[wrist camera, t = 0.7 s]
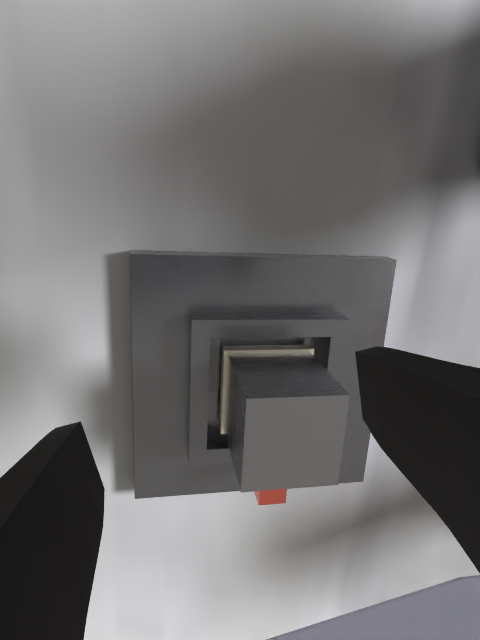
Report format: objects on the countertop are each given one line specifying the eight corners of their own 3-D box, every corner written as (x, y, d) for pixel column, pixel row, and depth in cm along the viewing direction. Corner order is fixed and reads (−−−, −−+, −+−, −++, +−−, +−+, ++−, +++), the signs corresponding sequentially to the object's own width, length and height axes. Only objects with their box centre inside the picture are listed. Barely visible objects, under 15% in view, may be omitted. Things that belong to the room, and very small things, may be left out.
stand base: (385, 256, 22) (437, 273, 18) (355, 470, 25) (392, 524, 21) (131, 250, 19) (124, 267, 15) (135, 485, 23) (131, 549, 19)
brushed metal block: (307, 342, 21) (354, 391, 16) (299, 420, 22) (340, 487, 17) (221, 343, 20) (242, 395, 15) (218, 424, 21) (236, 495, 16)
